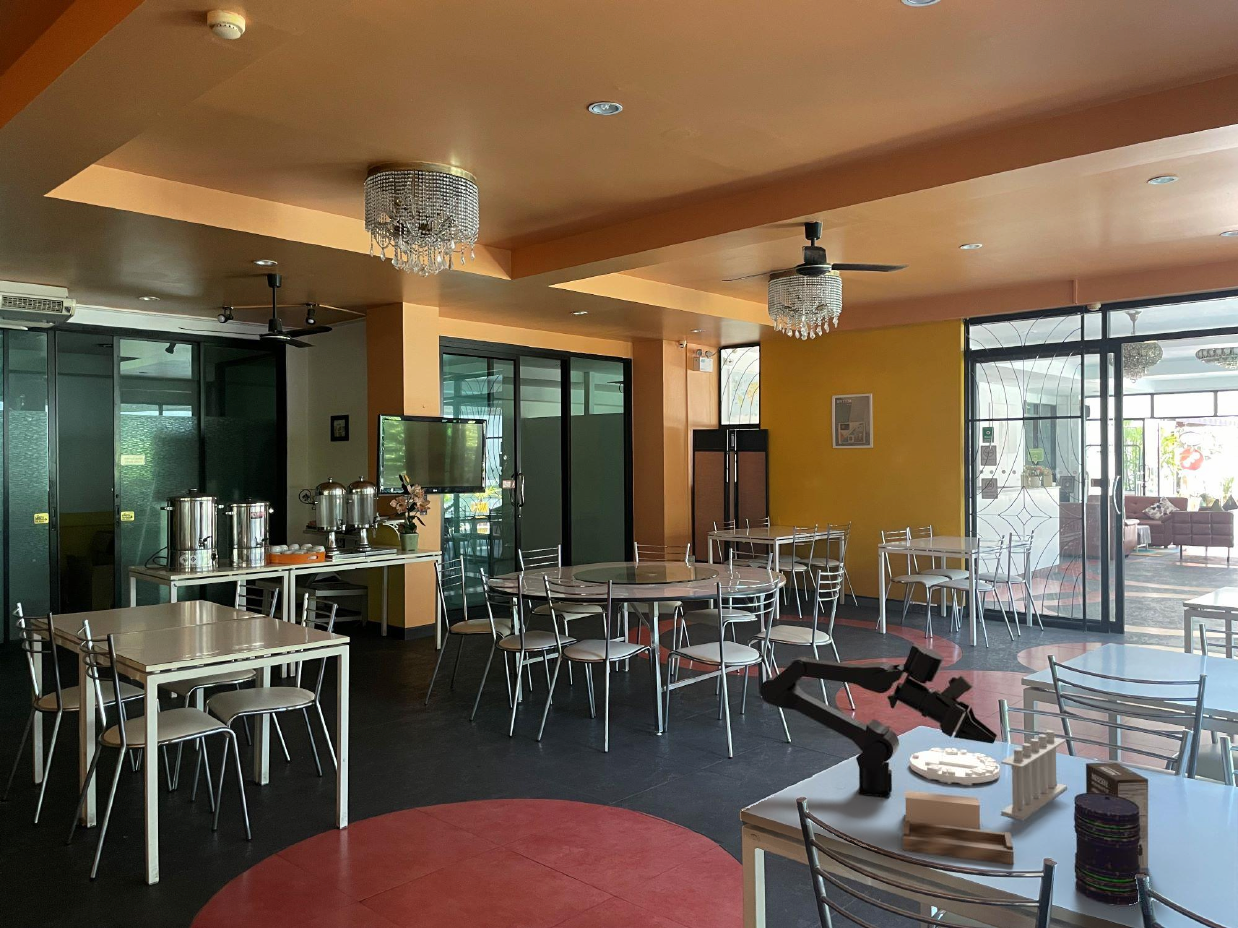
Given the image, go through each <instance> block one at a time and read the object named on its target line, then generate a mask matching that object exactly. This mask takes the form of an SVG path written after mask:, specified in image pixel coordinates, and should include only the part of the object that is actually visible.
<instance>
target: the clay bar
mask: <svg viewBox="0 0 1238 928" xmlns="http://www.w3.org/2000/svg"><path fill="white" fill-rule="evenodd" d="M980 806H981V804H980V800H979V798H978V797H972V796H971V797H970V796H961V795H952V794H951V795H950V794H942V793H941V794H940V793H939V794H937V793H930V792H920V791H912V790H911V791H909V790H905V820H907V821H910V822H918V823H927V824H935V825H943V826H952V827H960V828H969V829H977V830H981V828H980V827H981V812H980V810H981V807H980Z"/></svg>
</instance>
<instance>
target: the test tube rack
mask: <svg viewBox="0 0 1238 928" xmlns="http://www.w3.org/2000/svg"><path fill="white" fill-rule="evenodd" d="M1029 742H1030V743H1022V746H1021V748H1020V747H1015V748H1013V749H1014V750H1013V754H1012V755H1010V756H1008V757H1006V758H1005V759H1003V760H1001V761H1000V764H1003V765H1008V766H1010V767H1011V770H1012V772H1011V776H1012V777H1011V780H1012V783H1011V785H1012V786H1011V788H1012V791H1011V792H1012V793H1011V794H1012V804H1010V805H1008V806H1007V807H1005V808H1004V809H1002V810H1001V811H1000V813H1001V816H1005V817H1006V816H1007V817H1010V818H1014V819H1016V820H1021V821H1024V820H1025V819H1027V818H1028V817H1030V816H1031V815H1032V814H1034V813H1036V812H1037V811H1038V810H1040V809H1041V808H1042V807H1044V806H1045V805H1046V804H1048V803H1049V802H1051V801H1052V800H1053V799H1055V798H1056V797H1057V796H1059V795H1060V794H1062V793H1064V792H1065V791H1066V790H1067V789H1068V786H1067V785H1066V784H1061V783H1058V781H1057V747H1060V746H1061V745H1062V744H1064V743H1066V742H1067V740H1066V739H1065V738H1064V739H1063V738H1060V737H1059V738H1058V737H1055V732H1054V730H1051V729H1048V730H1046V731H1045V734H1038V737H1037V738H1032V739H1031V738H1030V741H1029Z"/></svg>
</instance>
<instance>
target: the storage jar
mask: <svg viewBox="0 0 1238 928" xmlns="http://www.w3.org/2000/svg"><path fill="white" fill-rule="evenodd" d="M1073 798H1074V799H1073V800H1074V801H1073V802H1074V811H1073V812H1074V813H1073V821H1074V825H1073V827H1074V831H1075V832H1074V833H1075V834H1076V835H1075V836H1076V837H1075V838H1076V842H1075V843H1076V852H1075V853H1074V861H1075V862H1074V873H1075V875H1074V877H1075V881H1074V882H1075V884H1074V885H1075V889H1076V891H1077V892H1078V893H1079V894H1080V895H1082V896H1084V897H1086V898H1087V899H1090V900H1091V901H1094V902H1098V903H1101V904H1105V905H1109V904H1113V905H1112V906H1115V905H1129V904H1134V903H1136V902H1138V889H1137V884H1136V879H1135V875H1136V874H1140V875H1141V868H1140V864H1139V863H1138V844H1139V842H1140V818H1139V806H1138V805H1137V804H1136V803H1134V802H1132V801H1130V800H1128V799H1125V798H1122V797H1119V796H1115V795H1110V794H1103V793H1086V792H1084V793H1083V792H1082V793H1079V794H1077V795H1075V796H1074V797H1073ZM1134 905H1135V904H1134Z"/></svg>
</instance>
